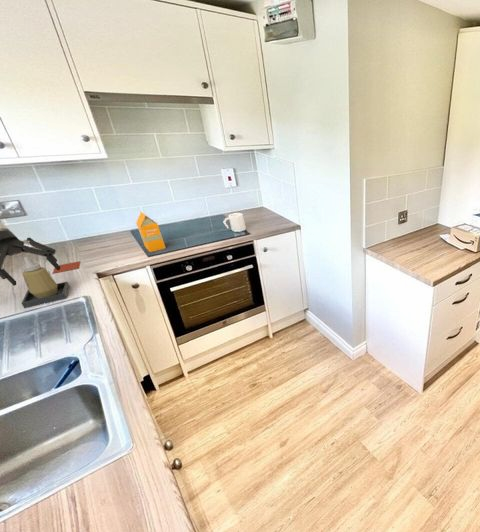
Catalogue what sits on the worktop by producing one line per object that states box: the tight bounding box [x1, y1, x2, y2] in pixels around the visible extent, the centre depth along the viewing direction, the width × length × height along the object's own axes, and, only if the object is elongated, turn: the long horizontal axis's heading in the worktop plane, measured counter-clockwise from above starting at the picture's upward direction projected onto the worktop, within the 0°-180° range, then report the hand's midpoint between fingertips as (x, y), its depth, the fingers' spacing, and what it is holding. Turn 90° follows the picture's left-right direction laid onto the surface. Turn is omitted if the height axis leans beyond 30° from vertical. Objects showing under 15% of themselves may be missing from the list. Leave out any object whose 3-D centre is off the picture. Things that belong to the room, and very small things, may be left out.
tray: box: [21, 281, 71, 309], centre depth 134 cm, size 12×12×2 cm
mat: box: [52, 261, 81, 274], centre depth 157 cm, size 9×9×1 cm
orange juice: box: [135, 211, 166, 253], centre depth 175 cm, size 8×9×20 cm
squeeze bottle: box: [21, 256, 58, 299], centre depth 130 cm, size 8×8×18 cm
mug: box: [222, 212, 247, 233], centre depth 204 cm, size 12×9×10 cm
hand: (38, 275), depth 129 cm, fingers open, 13 cm apart
